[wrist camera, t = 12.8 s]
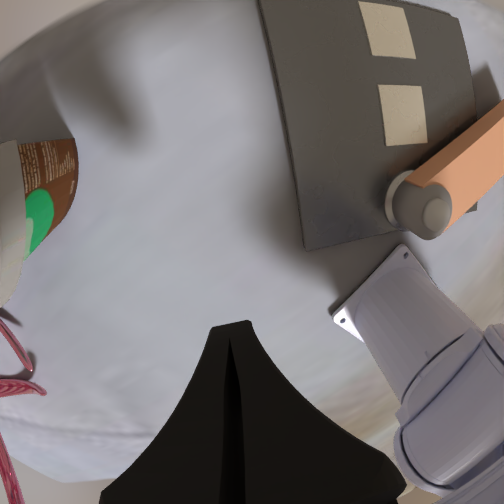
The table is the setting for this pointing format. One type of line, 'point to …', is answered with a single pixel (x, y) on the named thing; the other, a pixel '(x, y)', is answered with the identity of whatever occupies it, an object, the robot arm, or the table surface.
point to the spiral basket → (11, 387)
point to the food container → (32, 200)
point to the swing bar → (452, 178)
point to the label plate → (364, 105)
